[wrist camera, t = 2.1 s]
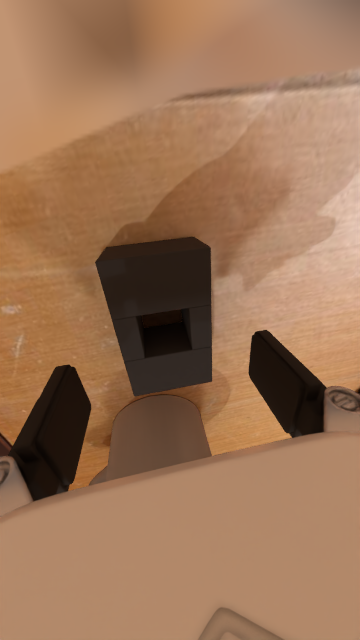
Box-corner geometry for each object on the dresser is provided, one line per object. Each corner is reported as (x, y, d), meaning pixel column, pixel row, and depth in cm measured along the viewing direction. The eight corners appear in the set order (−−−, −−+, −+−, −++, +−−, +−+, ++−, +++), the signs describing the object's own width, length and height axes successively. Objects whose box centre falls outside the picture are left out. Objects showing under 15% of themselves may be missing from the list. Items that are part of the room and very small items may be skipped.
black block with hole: (106, 247, 14) (94, 261, 10) (193, 236, 14) (210, 247, 11) (135, 361, 19) (134, 396, 15) (199, 350, 19) (212, 381, 16)
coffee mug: (190, 383, 21) (223, 505, 13) (207, 435, 26) (239, 548, 18) (63, 422, 21) (11, 573, 13) (105, 467, 26) (88, 597, 18)
